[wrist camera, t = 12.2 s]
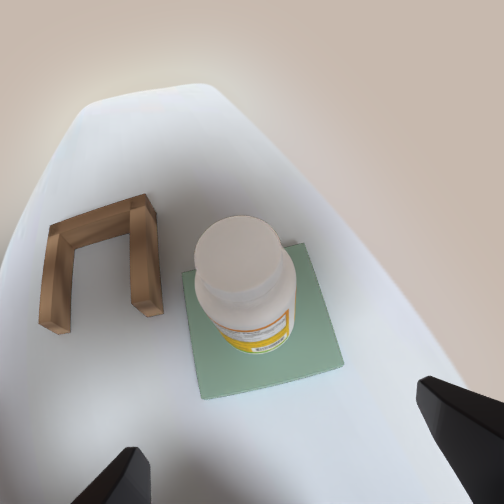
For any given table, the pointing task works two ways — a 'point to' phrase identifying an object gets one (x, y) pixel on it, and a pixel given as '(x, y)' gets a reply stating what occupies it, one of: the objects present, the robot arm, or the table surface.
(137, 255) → the frame
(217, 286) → the supplement bottle
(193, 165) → the table surface
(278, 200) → the table surface
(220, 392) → the green mat
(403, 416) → the table surface
